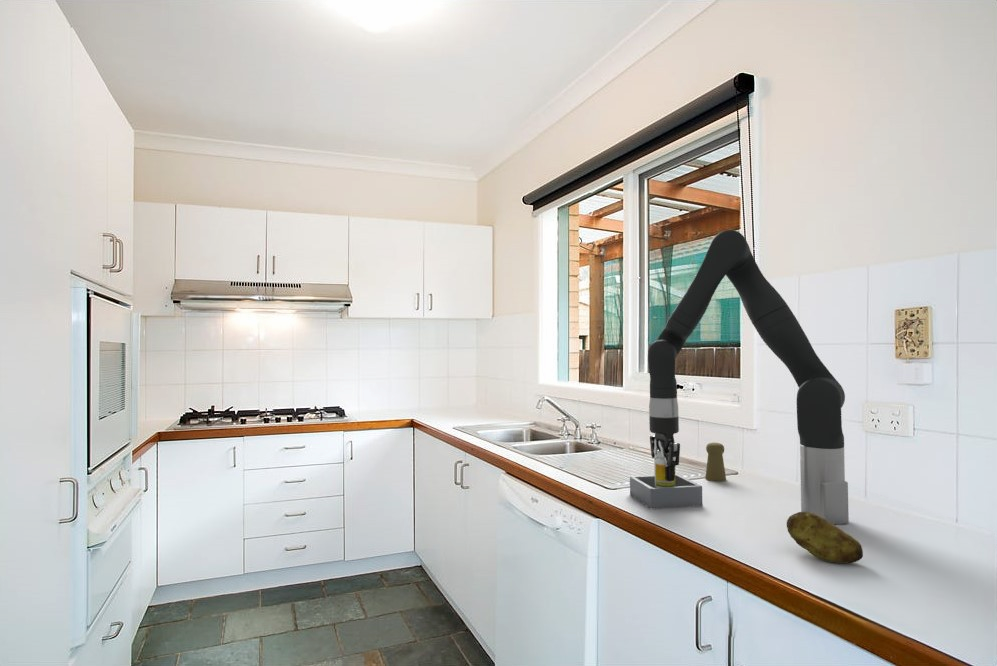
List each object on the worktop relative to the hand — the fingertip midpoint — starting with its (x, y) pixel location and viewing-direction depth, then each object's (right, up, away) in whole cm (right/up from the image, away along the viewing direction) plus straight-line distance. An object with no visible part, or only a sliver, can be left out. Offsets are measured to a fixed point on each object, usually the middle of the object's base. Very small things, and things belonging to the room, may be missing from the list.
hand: (665, 477), depth 159 cm
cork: (+22, -6, +23) cm, 32 cm away
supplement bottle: (0, -3, 0) cm, 3 cm away
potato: (+19, -5, -43) cm, 47 cm away
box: (0, -6, 0) cm, 6 cm away
